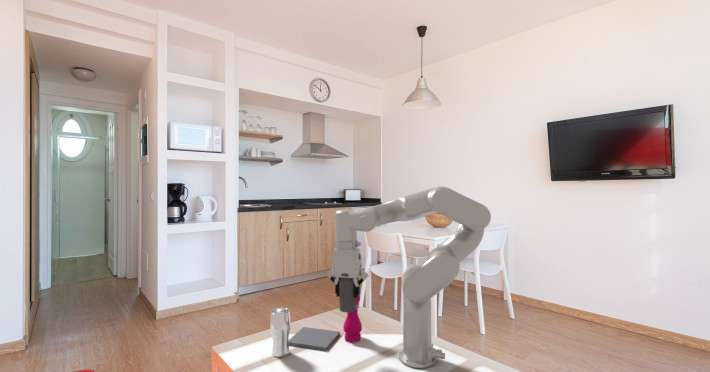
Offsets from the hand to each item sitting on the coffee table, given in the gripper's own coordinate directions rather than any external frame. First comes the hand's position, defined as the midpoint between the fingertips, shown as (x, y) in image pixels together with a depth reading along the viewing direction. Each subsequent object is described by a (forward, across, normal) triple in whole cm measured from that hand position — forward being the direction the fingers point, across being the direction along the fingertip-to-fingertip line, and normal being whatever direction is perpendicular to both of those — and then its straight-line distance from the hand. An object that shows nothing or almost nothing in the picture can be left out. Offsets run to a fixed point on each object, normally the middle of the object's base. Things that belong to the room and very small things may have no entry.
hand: (347, 295), depth 119 cm
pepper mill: (+21, +3, -12) cm, 24 cm away
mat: (+20, +17, -7) cm, 27 cm away
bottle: (+5, 0, 0) cm, 5 cm away
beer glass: (+21, +24, +6) cm, 32 cm away
